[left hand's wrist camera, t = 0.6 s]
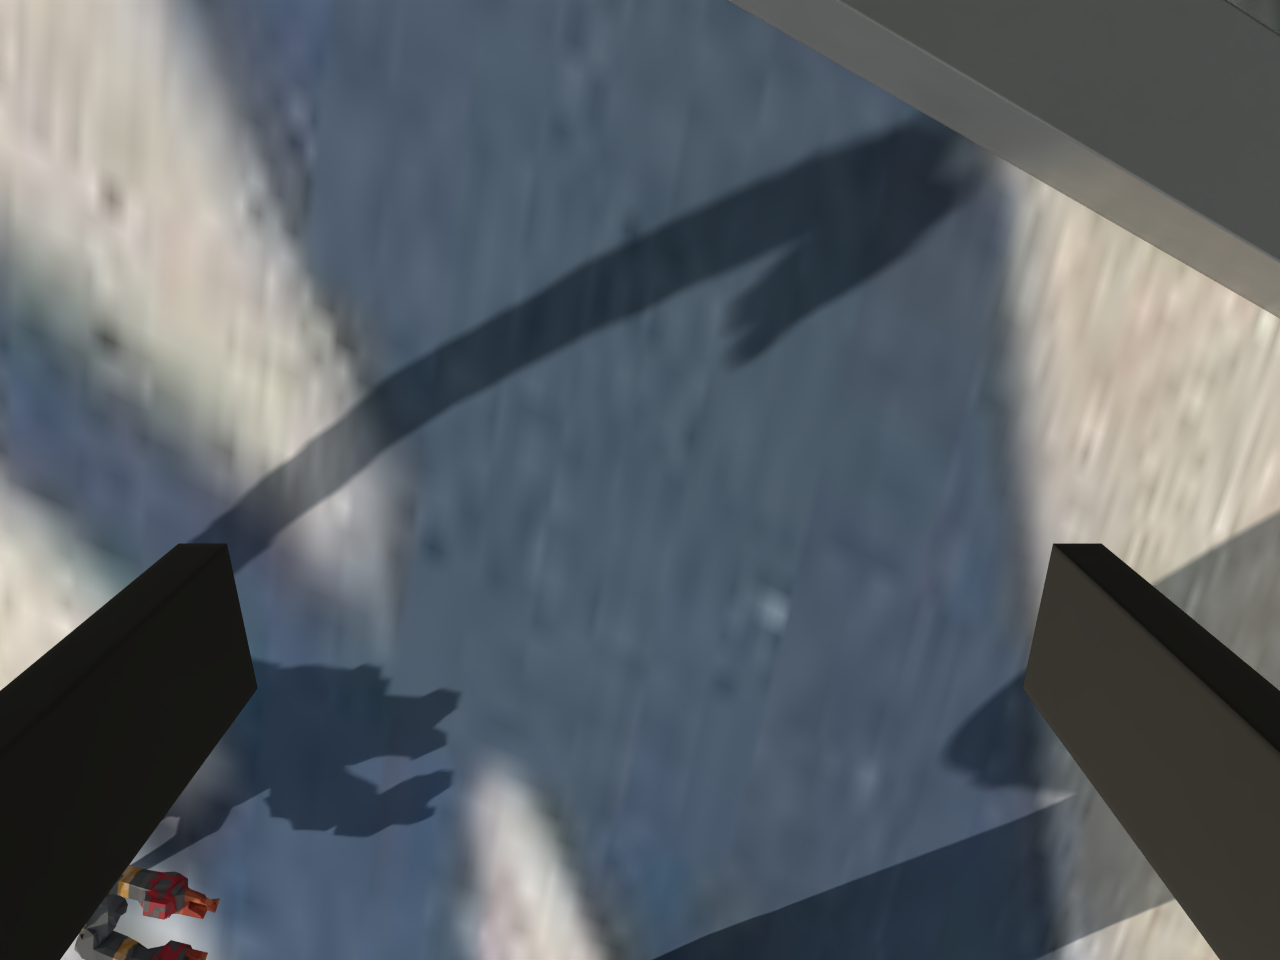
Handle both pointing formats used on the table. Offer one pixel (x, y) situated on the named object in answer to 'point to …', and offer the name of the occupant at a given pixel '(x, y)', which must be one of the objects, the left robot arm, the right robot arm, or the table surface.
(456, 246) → the table surface
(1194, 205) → the bar
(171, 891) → the toy
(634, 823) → the table surface
